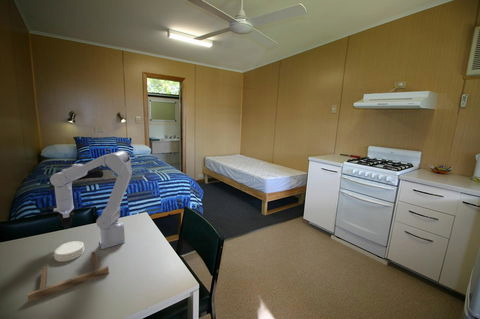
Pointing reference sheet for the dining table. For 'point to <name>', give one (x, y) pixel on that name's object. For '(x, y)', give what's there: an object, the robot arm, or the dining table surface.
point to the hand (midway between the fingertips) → (67, 226)
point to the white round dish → (69, 251)
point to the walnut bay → (66, 281)
